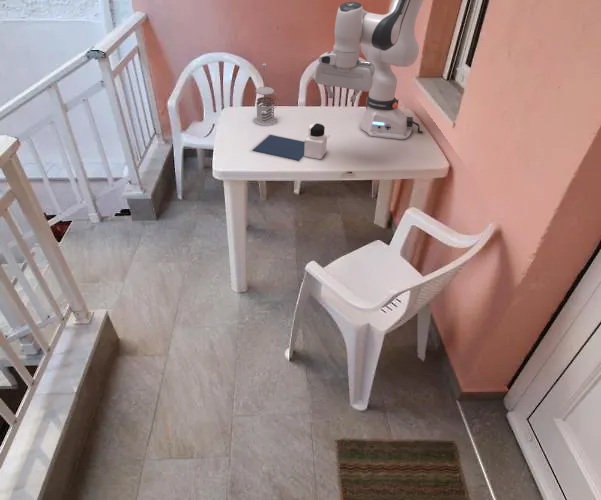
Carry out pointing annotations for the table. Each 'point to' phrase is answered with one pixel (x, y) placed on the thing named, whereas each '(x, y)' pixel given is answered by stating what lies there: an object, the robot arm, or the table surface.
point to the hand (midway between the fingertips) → (341, 99)
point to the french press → (262, 116)
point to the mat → (282, 147)
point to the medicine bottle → (315, 142)
